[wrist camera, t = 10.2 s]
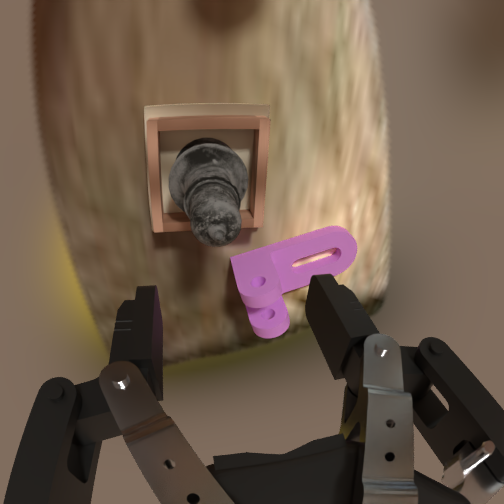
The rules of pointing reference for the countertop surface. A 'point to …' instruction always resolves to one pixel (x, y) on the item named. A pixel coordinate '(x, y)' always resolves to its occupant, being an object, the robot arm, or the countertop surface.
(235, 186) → the salt shaker
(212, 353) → the countertop surface
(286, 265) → the bracket
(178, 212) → the shaker holder
